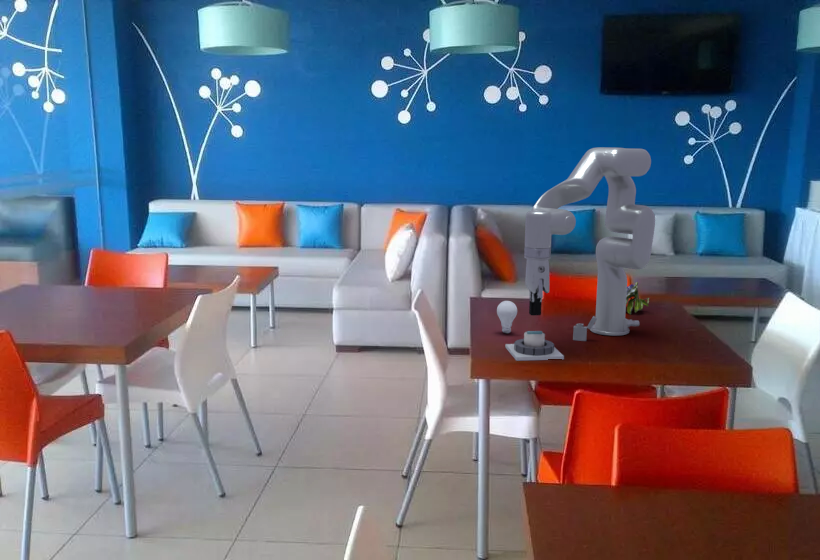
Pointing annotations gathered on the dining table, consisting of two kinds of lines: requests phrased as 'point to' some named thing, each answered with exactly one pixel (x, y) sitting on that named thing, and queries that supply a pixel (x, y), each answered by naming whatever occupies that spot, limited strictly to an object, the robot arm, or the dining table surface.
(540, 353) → the segmented ring plate
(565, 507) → the dining table surface
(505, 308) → the light bulb
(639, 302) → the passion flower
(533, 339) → the knob
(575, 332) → the lighter
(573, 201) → the robot arm
